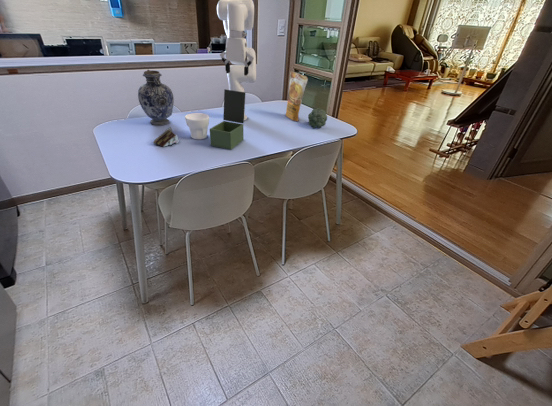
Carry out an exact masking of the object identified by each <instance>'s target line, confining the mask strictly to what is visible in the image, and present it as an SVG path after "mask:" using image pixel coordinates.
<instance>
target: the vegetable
mask: <svg viewBox="0 0 552 406" xmlns="http://www.w3.org/2000/svg"><path fill="white" fill-rule="evenodd" d="M307 118H308V125H309V126H310V127H311V128H313V129H316V128H319V129H321V128H322V127H324V126H326V124H327V120H328V116H327V111H326V110H324V109H322V108H319V107H314V108H313V109H312V110H311V112H309V114H308V117H307Z"/></svg>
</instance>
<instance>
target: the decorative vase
mask: <svg viewBox="0 0 552 406" xmlns="http://www.w3.org/2000/svg"><path fill="white" fill-rule="evenodd" d="M162 76H163V74H162V73H160V71H158V70H150V69H147V70H145V71H143V74H142V77H145V81H146V82H145V83H144V84H141V86H139V88H138V89H137V98H138V103H139V105H140V107H141V110H143V112H144V114H145V115H146V116H147V117H148V118H150V119H151V120H150V124H151V125H153V126H165V125H168V124H169V123H170V120H169V119H168V118H170V117H171V116H173V115H172V114H173V110H174V105H175V104H174V103H175V99H174V92H173V91H172V88H171V87H170V86H168V85H167V84H165V83H162V82H161V77H162Z"/></svg>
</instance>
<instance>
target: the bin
mask: <svg viewBox="0 0 552 406" xmlns="http://www.w3.org/2000/svg"><path fill="white" fill-rule="evenodd" d="M209 139H210V146H211V147H214V148H215V147H216V148H221V149H225V150H230V151H231V150H233V149H234V148H236V147H237V146H238V145H239V144H241V143H242V142H243V141H244V123H237V122H232V121H226V120H223V121H221V122H219V123H217V124H216V125H214V126H212V127H211V128H209Z"/></svg>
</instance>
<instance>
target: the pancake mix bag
mask: <svg viewBox="0 0 552 406" xmlns="http://www.w3.org/2000/svg"><path fill="white" fill-rule="evenodd" d="M308 81H309V78H308V76H307V75H304V74H301V73H299V72H296V71H293V70H291V71H289V80H288V91H287V102H286V110H285V111H286V113H285V116H286V118H288V119H289V120H291V121H293V122H299V114H300V110H301V105H302V101H303V98H304V96H305V91H306V87H307V85H308Z"/></svg>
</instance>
